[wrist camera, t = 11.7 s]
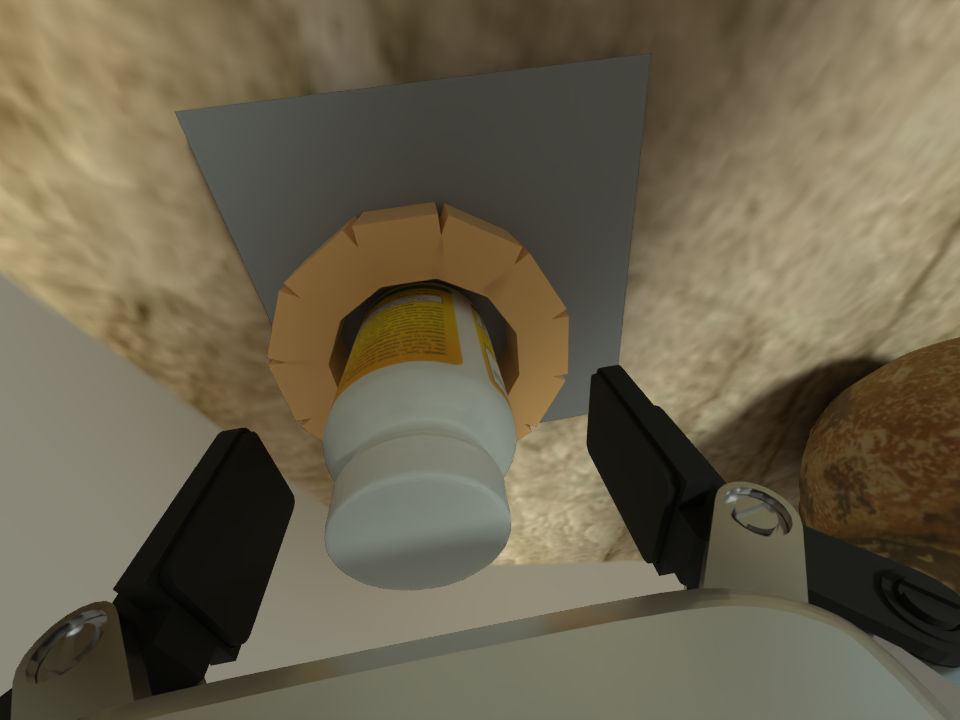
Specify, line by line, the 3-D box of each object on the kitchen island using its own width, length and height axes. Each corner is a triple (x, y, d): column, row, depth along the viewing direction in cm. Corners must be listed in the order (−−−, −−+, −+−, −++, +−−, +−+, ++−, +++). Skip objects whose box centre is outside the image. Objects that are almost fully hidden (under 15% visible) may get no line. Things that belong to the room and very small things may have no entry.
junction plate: (635, 59, 13) (651, 53, 12) (605, 398, 21) (613, 409, 20) (192, 113, 12) (174, 111, 11) (337, 445, 20) (334, 459, 19)
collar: (547, 185, 14) (571, 194, 11) (550, 413, 19) (566, 447, 17) (243, 228, 13) (209, 246, 11) (340, 451, 19) (330, 490, 17)
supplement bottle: (509, 321, 16) (595, 507, 8) (441, 404, 18) (454, 623, 10) (402, 250, 14) (371, 406, 6) (337, 352, 16) (245, 579, 8)
